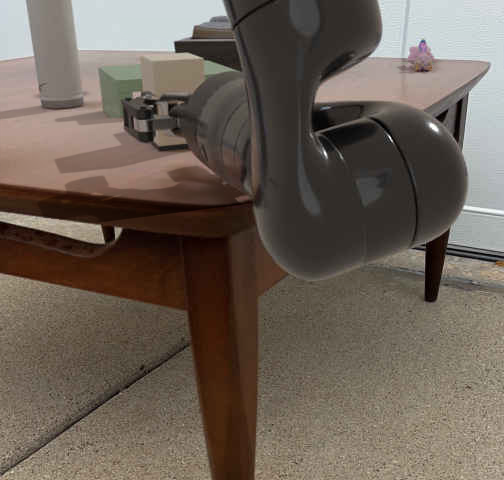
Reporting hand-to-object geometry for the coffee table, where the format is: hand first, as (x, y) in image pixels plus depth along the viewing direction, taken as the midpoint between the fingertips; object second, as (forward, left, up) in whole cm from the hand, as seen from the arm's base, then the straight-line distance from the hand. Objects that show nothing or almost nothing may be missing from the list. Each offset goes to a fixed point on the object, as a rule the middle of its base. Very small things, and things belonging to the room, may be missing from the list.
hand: (191, 99), depth 62 cm
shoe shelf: (+5, +32, -7) cm, 34 cm away
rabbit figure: (+63, +61, -7) cm, 88 cm away
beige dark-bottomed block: (0, +10, -7) cm, 12 cm away
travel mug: (-8, +47, -7) cm, 49 cm away
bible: (+31, +79, -7) cm, 85 cm away
